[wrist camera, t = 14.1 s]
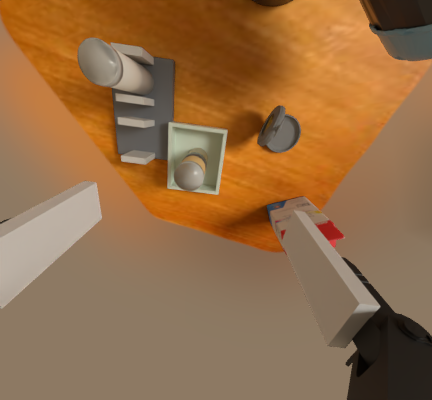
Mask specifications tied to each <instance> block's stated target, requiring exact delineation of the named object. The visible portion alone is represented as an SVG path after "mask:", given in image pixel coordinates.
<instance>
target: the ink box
mask: <svg viewBox="0 0 432 400" xmlns="http://www.w3.org/2000/svg"><path fill="white" fill-rule="evenodd" d="M267 209H268V214H269V219H270V223H271V225H272V227H273V229H274V231H275V233H276V235H277V237H278V239H279V241H280V243H281V242H282V239H283V237H284V234H285V231H286V229H287V226H288V223H289V221H290V218H291V215H292V213H293V210H295V211H303V212H305V213H306V214H307V215H308V217H309V218H310V219H311V220H312V222H313V223H314V224H315V225H316V227H317V228H318V229H319V230H320V232H321V233H322V234H323V235H324V237H325V238H326V239H327V240H328V241H329V243H330V244H331V245H332V246H333V247H335V246H336V240H338V239H344V238H345V236H344V235H343V234H342V233H341V232H340V231H339V230H338V229H337V228H336V226H335V224H334V223H333V222H331V221H330V220H329V219H328V218H327V217H326V216H325V215H324V214H323V213H322V212H321V211H320V210H319V209H318V208H316V207H315V206H314V205H313V204H312V203H311V202H310V201H309V200H308V199H307V198H306V197H304V196H303V197H299V198H294V199H290V200H286V201H282V202H278V203H274V204H270V205H267ZM281 245H282V243H281ZM282 247H283V245H282ZM283 249H284V247H283ZM284 251H285V249H284ZM285 253H286V252H285ZM286 255H287V254H286ZM287 257H288V256H287Z"/></svg>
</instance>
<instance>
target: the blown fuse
mask: <svg viewBox="0 0 432 400" xmlns="http://www.w3.org/2000/svg"><path fill="white" fill-rule="evenodd" d="M207 162H208V155H207V153H206V151H205V150H203V149H202V148H194V149H192V150H191V151H190V152H189V153H188V154H187V155H186V157H185V158H184V159H183V160H182V162H181V163H180V164H179V166H178V167H177V168H176V170H175V172H174V180H175V183H176V184H177V186H178V187H179V188H181V189H183V190H185V191H194V190H197V189H198V188H199V187H200V186H201V185H202V183H203V180H204V174H205V171H206V167H207Z"/></svg>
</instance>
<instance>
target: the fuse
mask: <svg viewBox="0 0 432 400" xmlns="http://www.w3.org/2000/svg"><path fill="white" fill-rule="evenodd" d="M78 62H79V66H80V68H81V70H82V72H83V74H84V75H85V76H86V77H87V78H88V79H89V80H90V81H91V82H93V83H95V84H97V85H100V86H104V87H111V88H115V89H119V90H123V91H127V92H131V93H136V94H140V95H147V94H149V93H150V92H151V91H152V90H153V87H154V79H153V76H152V74H151V73H150V71H149V70H148V69H146V68H145V67H143V66H142V65H140V64H138V63H137V62H135V61H134V60H132V59H130V58H129V57H127V56H125V55H124V54H122V53H121V52H119V51H117V50H116V49H114V48H113V47H112V46H110V45H109V44H107V43H106V42H104V41H102V40H100V39H98V38H88V39H85V40H84V41H83V42H82V43H81V44H80V46H79V49H78Z"/></svg>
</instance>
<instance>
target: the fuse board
mask: <svg viewBox="0 0 432 400" xmlns="http://www.w3.org/2000/svg"><path fill="white" fill-rule="evenodd" d="M111 46H112V47H113V48H114V49H116V50H117V51H119V52H121V53H122V54H124V55H125V56H127V57H129V58H130V59H132V60H134V61H135V62H137V63H138V64H140V65H142V66H143V67H145V68H146V69H148V70H149V71H150V73H151V74H152V76H153V79H154V87H153V90H152V91H151V92H150V93H149V94H147V95H140V94H136V93H131V92H127V91H123V90H119V89H115V88H112V95H113V105H114V115H115V125H116V136H117V146H118V154H123V155H121V161H122V162H130V163H137V164H145V165H146V164H147V163H149V162H150V161H151V160H153V159H154V158H155V159H162V160H168V126H169V122H172V121H173V118H174V82H175V62H174V60H171V59H165V58H158V57H152V56H151V55H150V54H149V53H148V52H147V51H145V50H144V49H143V48H142V47H138V46H131V45H125V44H118V43H112V42H111Z"/></svg>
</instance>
